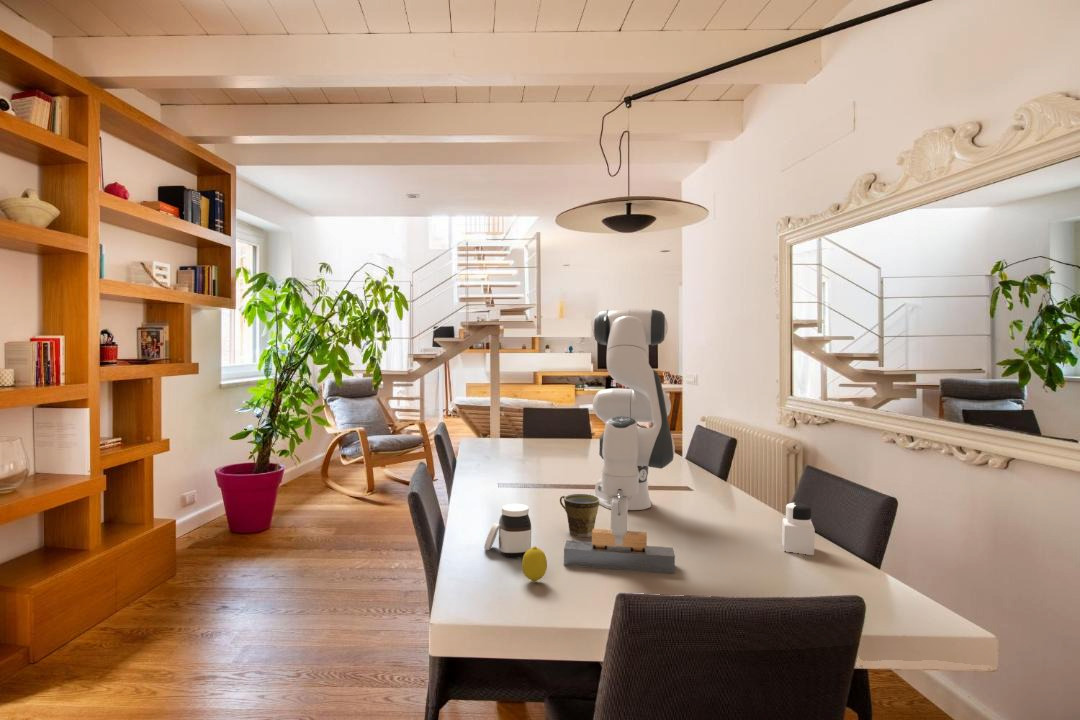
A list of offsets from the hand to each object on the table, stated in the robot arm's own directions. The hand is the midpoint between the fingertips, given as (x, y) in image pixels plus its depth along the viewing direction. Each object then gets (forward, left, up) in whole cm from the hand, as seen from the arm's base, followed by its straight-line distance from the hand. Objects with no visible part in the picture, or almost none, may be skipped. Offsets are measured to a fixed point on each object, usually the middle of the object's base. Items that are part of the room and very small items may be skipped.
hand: (618, 541), depth 137 cm
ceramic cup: (-24, +7, -6) cm, 26 cm away
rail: (0, 0, -6) cm, 6 cm away
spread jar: (-22, -18, -6) cm, 29 cm away
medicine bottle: (+19, +47, -6) cm, 51 cm away
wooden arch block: (0, 0, -5) cm, 5 cm away
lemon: (-3, -23, -6) cm, 24 cm away
